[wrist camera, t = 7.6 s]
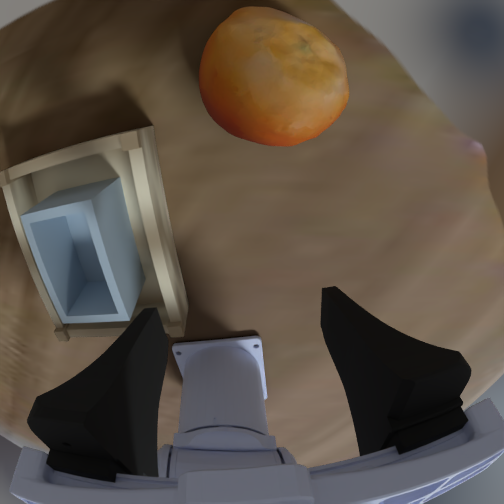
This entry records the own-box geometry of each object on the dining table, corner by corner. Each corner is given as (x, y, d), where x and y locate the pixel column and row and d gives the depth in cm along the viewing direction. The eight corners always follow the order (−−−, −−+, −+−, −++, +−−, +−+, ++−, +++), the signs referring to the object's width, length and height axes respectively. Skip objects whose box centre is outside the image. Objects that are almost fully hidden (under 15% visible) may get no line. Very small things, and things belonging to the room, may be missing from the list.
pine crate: (188, 303, 25) (184, 336, 21) (75, 312, 24) (59, 341, 21) (153, 125, 18) (136, 130, 15) (24, 161, 18) (-6, 174, 14)
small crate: (145, 279, 23) (129, 320, 18) (86, 285, 22) (62, 323, 18) (120, 176, 19) (91, 199, 14) (56, 191, 19) (20, 215, 14)
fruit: (151, 103, 16) (183, 26, 9) (230, 39, 18) (289, -28, 11) (245, 189, 19) (326, 165, 12) (307, 114, 21) (387, 77, 14)
